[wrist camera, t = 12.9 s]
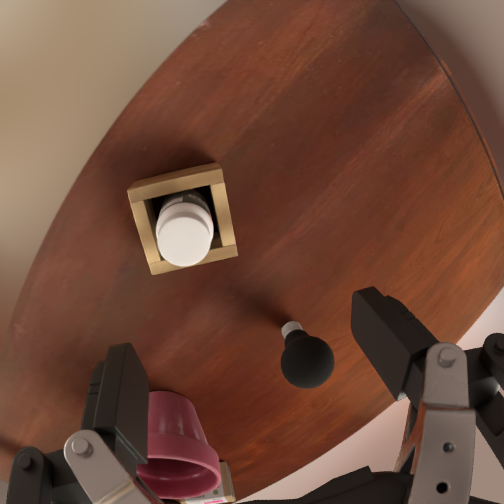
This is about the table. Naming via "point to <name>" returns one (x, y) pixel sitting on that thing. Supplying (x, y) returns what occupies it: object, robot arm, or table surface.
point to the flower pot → (177, 450)
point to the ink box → (216, 490)
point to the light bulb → (305, 357)
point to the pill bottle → (184, 228)
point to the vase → (169, 502)
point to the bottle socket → (176, 182)
